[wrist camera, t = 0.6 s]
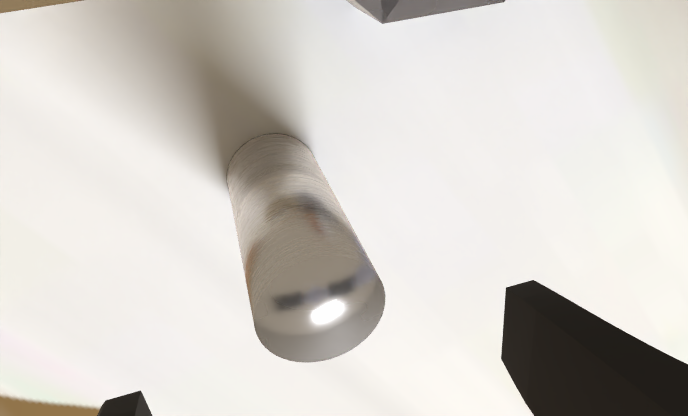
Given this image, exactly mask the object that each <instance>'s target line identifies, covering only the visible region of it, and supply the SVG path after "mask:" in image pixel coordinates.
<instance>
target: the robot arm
mask: <svg viewBox="0 0 688 416" xmlns="http://www.w3.org/2000/svg"><path fill="white" fill-rule="evenodd" d="M501 359H502V361H503V363H504V365H505V367H506V369H507V370H508V372H509V374H510V376H511V378H512V380H513V382H514V384H515V385H516V387H517V389H518V391H519V392H520V394H521V396H522V398H523V399H524V401H525V403H526V404H527V406H528V407H529V409H530V410H531V412H532V413H533V414H534V416H688V364H686V363H684V362H682V361H680V360H678V359H675V358H673V357H671V356H669V355H667V354H666V353H664V352H662V351H660V350H658V349H656V348H654V347H652V346H650V345H648V344H646V343H644V342H643V341H641V340H639V339H637V338H635V337H633V336H631V335H630V334H628V333H626V332H624V331H622V330H621V329H619V328H617V327H615V326H613V325H612V324H610V323H608V322H606V321H604V320H603V319H601V318H599V317H597V316H596V315H594V314H592V313H590V312H589V311H587V310H585V309H583V308H582V307H580V306H578V305H576V304H575V303H573V302H571V301H570V300H568V299H566V298H564V297H563V296H561V295H559V294H557V293H556V292H554V291H552V290H550V289H549V288H547V287H545V286H543V285H541V284H540V283H538V282H536V281H534V280H532V281H528V282H525V283H521V284H517V285H514V286H510V287H507V288H506V296H505V311H504V326H503V341H502V356H501ZM97 416H152V414H151V412H150V410H149V407H148V405H147V403H146V401H145V399H144V396H143V394H142V392H141V391H138V392H134V393H131V394H127V395H124V396H120V397H117V398H113V399H109V400H106V401H105V402H104V404H103V405H102V406H101V408H100V411H99V413H98V415H97Z"/></svg>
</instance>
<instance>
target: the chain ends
mask: <svg viewBox="0 0 688 416" xmlns="http://www.w3.org/2000/svg"><path fill="white" fill-rule="evenodd" d="M76 1H82V0H0V13H5V12H11V11H18V10H24V9H30V8H37V7H43V6H50V5H56V4H63V3H69V2H76ZM347 1H348V2H349V3H350V4H352V5H353V6H354V7H356V8H357V9H359V10H361V11H362V12H364V13H366V14H367V15H369V16H371V17H372V18H374V19H376V20H377V21H379V22H381V23H382V24H383V23H389V22H395V21H400V20H406V19H411V18H417V17H423V16H428V15H434V14H440V13H445V12H451V11H456V10H462V9H468V8H473V7H479V6H484V5H490V4H496V3H501V2H504V1H505V0H347Z"/></svg>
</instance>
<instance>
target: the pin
mask: <svg viewBox="0 0 688 416" xmlns="http://www.w3.org/2000/svg"><path fill="white" fill-rule="evenodd" d="M227 182H228V188H229V193H230V198H231V204H232V209H233V214H234V220H235V225H236V230H237V236H238V241H239V246H240V252H241V257H242V262H243V268H244V273H245V278H246V284H247V289H248V294H249V300H250V305H251V310H252V315H253V321H254V326H255V331H256V334H257V336H258V338H259V340H260V341H261V343H262V344H263V345H264V346H265V348H267V349H268V350H269V351H270V352H272V353H273V354H275V355H276V356H279V357H281V358H283V359H287V360H290V361H295V362H318V361H323V360H328V359H331V358H334V357H337V356H340V355H342V354H344V353H346V352H348V351H350V350H351V349H353V348H355V347H356V346H357V345H359V344H360V343H361V342H362V341H364V340H365V339H366V338H367V337H368V336H369V335H370V334H371V333H372V331H373V330H374V329H375V327H376V326H377V324H378V322H379V321H380V318H381V316H382V314H383V310H384V306H385V291H384V287H383V284H382V282H381V280H380V278H379V276H378V274H377V273H376V271H375V269H374V267H373V265H372V263H371V261H370V260H369V258H368V256H367V254H366V252H365V250H364V249H363V247H362V245H361V243H360V241H359V239H358V237H357V236H356V234H355V232H354V230H353V228H352V226H351V224H350V223H349V221H348V219H347V217H346V215H345V213H344V212H343V210H342V208H341V206H340V204H339V202H338V200H337V199H336V197H335V195H334V193H333V191H332V189H331V187H330V186H329V184H328V182H327V180H326V178H325V176H324V175H323V173H322V171H321V169H320V167H319V165H318V163H317V162H316V160H315V158H314V156H313V154H312V153H311V151H310V150H309V148H308V147H307V146H306V145H305V144H303V143H302V142H301V141H299V140H297V139H296V138H294V137H291V136H288V135H283V134H267V135H262V136H259V137H256V138H254V139H252V140H250V141H248V142H247V143H245V144H244V145H243V146H242V147H241V148H240V149H238V151H237V152H236V153H235V154H234V156H233V158H232V159H231V162H230V164H229V167H228V172H227Z"/></svg>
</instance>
